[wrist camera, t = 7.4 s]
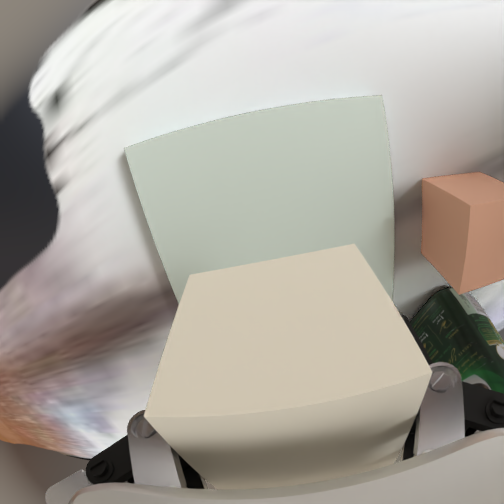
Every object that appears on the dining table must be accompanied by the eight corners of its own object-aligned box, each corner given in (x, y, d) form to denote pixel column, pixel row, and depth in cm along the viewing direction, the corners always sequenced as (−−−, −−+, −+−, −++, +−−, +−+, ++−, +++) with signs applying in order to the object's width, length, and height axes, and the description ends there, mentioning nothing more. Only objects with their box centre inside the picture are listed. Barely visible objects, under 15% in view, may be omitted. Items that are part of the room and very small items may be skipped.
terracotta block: (478, 171, 17) (529, 195, 12) (474, 239, 20) (515, 274, 15) (421, 178, 18) (470, 205, 13) (420, 252, 21) (458, 294, 15)
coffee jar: (426, 365, 27) (484, 506, 10) (378, 352, 25) (435, 531, 9) (482, 298, 23) (576, 435, 6) (441, 271, 21) (562, 449, 5)
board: (374, 95, 16) (382, 95, 15) (386, 302, 23) (391, 310, 22) (131, 145, 17) (123, 148, 16) (199, 335, 24) (196, 345, 23)
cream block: (354, 243, 10) (432, 372, 5) (356, 358, 13) (390, 470, 7) (189, 274, 11) (143, 416, 5) (231, 379, 13) (223, 494, 8)
